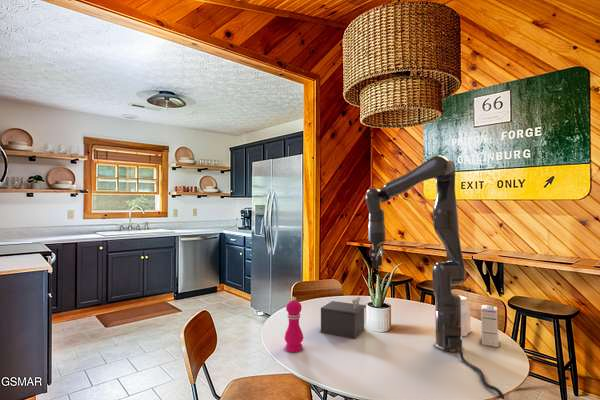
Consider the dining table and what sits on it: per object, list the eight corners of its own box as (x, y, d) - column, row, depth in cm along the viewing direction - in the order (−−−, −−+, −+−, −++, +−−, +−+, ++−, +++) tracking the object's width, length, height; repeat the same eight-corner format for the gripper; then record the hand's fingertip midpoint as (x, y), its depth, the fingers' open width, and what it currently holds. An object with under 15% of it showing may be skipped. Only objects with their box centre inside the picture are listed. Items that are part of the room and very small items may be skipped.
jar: (449, 325, 160) (449, 292, 160) (472, 330, 154) (471, 296, 154) (441, 332, 151) (441, 297, 151) (465, 337, 145) (464, 301, 145)
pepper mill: (302, 345, 138) (302, 294, 138) (303, 352, 130) (303, 299, 131) (284, 345, 137) (284, 294, 138) (284, 353, 130) (284, 299, 130)
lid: (365, 306, 155) (365, 295, 155) (356, 314, 144) (356, 302, 144) (332, 302, 163) (331, 291, 163) (320, 309, 152) (320, 297, 152)
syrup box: (498, 347, 135) (498, 309, 135) (481, 344, 138) (480, 307, 138) (498, 342, 140) (497, 306, 140) (481, 339, 143) (481, 304, 143)
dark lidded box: (364, 329, 155) (364, 307, 155) (354, 338, 144) (354, 314, 144) (332, 323, 163) (332, 302, 163) (320, 332, 152) (320, 309, 152)
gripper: (380, 232, 152) (381, 269, 151) (388, 230, 164) (389, 265, 164) (364, 232, 155) (364, 268, 155) (373, 230, 168) (373, 264, 167)
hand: (377, 266), depth 159 cm, fingers open, 8 cm apart
